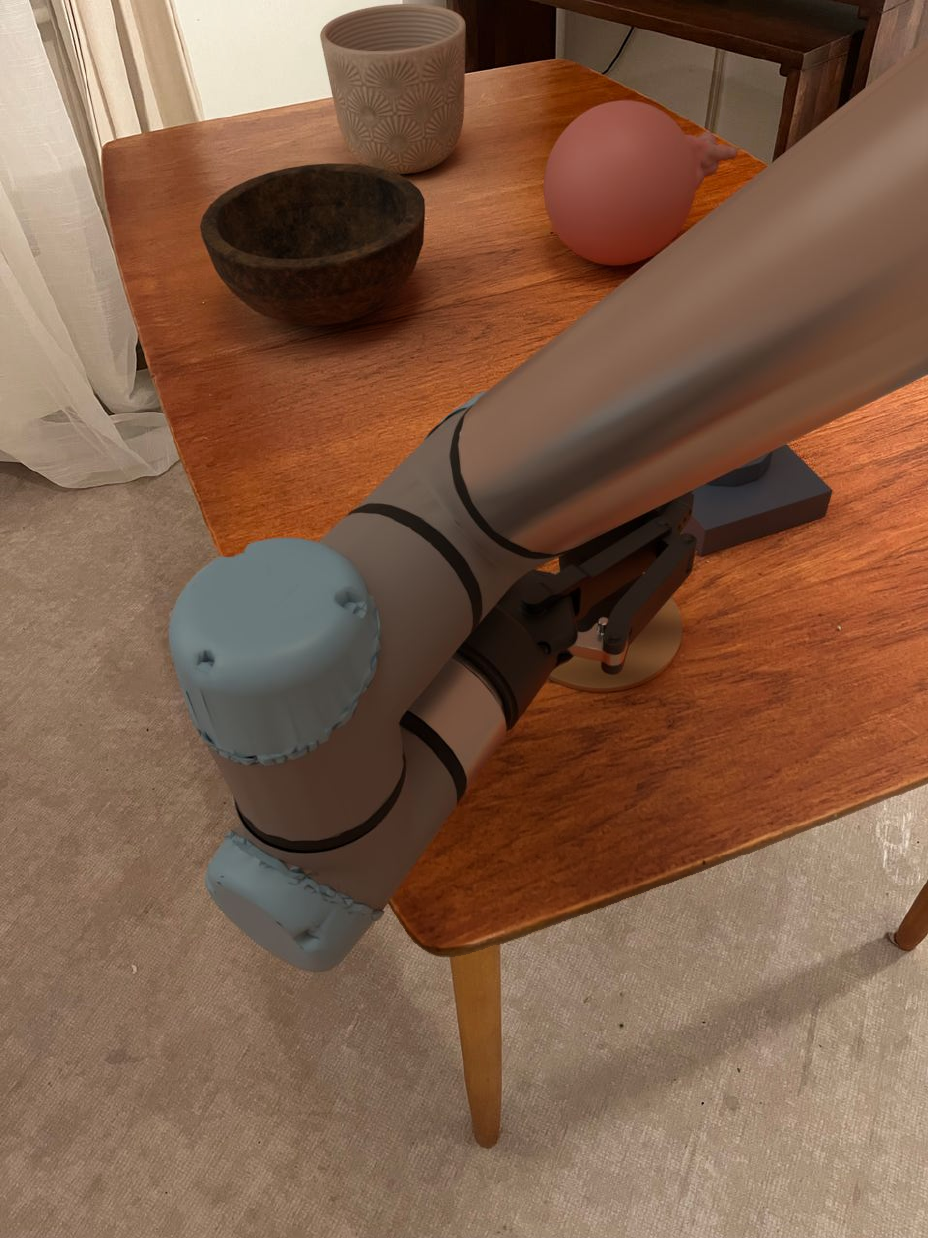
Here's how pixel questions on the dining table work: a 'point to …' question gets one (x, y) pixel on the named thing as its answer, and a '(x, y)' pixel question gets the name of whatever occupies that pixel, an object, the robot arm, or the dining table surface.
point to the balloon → (625, 181)
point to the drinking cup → (589, 551)
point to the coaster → (629, 657)
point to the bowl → (316, 241)
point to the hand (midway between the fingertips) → (641, 448)
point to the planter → (397, 83)
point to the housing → (757, 501)
